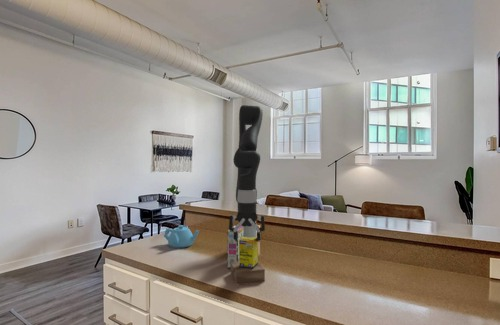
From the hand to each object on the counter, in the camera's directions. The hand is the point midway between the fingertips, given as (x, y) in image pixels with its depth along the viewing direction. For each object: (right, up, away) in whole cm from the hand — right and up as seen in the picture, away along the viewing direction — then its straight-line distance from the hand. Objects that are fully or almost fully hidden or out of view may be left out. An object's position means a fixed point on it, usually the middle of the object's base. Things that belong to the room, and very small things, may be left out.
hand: (246, 241), depth 117 cm
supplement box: (+1, -10, 0) cm, 10 cm away
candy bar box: (-5, -15, +14) cm, 21 cm away
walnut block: (0, -15, 0) cm, 15 cm away
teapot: (-37, -14, +45) cm, 60 cm away
